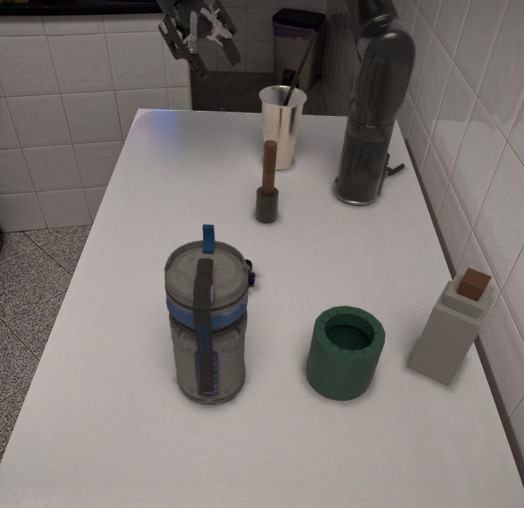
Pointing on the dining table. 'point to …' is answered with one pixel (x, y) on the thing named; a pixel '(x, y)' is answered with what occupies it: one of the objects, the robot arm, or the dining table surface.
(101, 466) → the dining table surface
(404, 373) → the dining table surface
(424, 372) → the perfume bottle
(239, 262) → the beverage bottle
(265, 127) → the metal cup with utensils
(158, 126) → the dining table surface
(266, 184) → the pestle
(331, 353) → the green tube segment
